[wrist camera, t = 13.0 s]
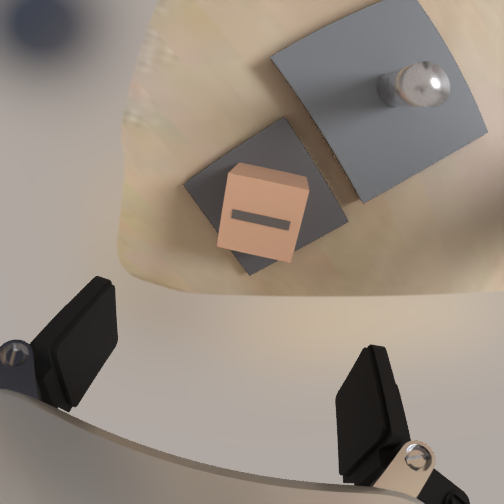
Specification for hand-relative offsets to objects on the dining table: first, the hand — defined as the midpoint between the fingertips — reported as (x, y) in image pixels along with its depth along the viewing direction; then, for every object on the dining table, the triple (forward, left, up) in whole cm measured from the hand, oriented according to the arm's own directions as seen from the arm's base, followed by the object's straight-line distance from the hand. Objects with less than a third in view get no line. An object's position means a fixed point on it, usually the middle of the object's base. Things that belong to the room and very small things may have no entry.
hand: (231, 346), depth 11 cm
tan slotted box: (0, 0, -19) cm, 19 cm away
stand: (+3, -14, -20) cm, 25 cm away
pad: (0, +1, -20) cm, 20 cm away
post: (+3, -14, -19) cm, 24 cm away
